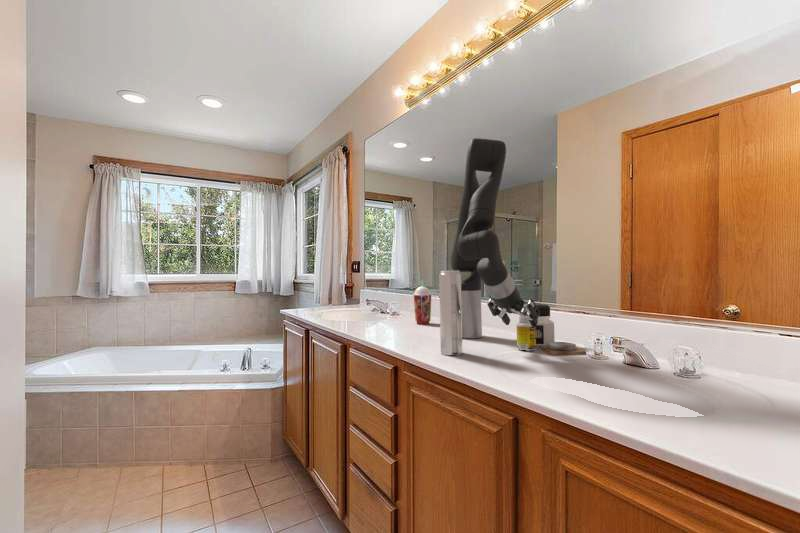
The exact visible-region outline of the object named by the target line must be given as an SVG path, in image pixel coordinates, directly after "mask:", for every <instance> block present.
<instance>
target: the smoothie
mask: <svg viewBox="0 0 800 533" xmlns="http://www.w3.org/2000/svg"><path fill="white" fill-rule="evenodd" d="M420 284H421V286H419V287H417V288H415V290H414V293H413V302H414V303H413V305H414V317H415V322H416V324H417V325H421V324H422V325H424V326H425V325H429V324H430V322H431V313H432V310H431V308H432V293H431V291H430V289H429V288H428V287H426V286H424V281H423V279H421V282H420Z"/></svg>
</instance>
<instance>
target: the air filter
mask: <svg viewBox="0 0 800 533" xmlns="http://www.w3.org/2000/svg"><path fill="white" fill-rule="evenodd" d="M438 276H439V277H438V278H439V279H438V282H439V283H438V288H439V290H438V291H439V326H440V327H439V329H440V330H439V332H440V333H439V336H440V338H439V339H440V354H441V355H443V354H444V356H448V355H456V356H461V355H462V354H463V352H464V351H463V338H462V304H461V281H462V272H460V271H454V270H441V271H440V273H439V274H438Z"/></svg>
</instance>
